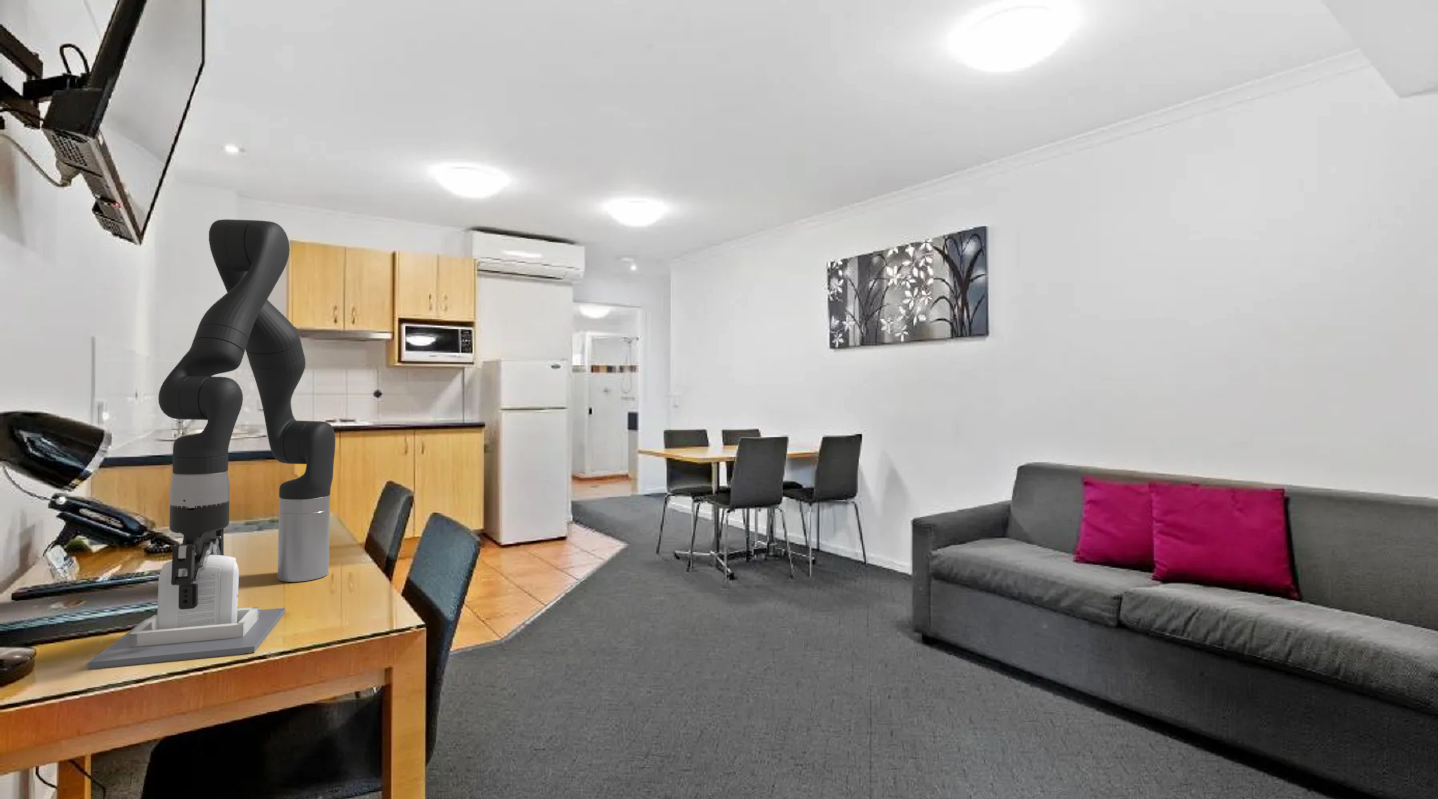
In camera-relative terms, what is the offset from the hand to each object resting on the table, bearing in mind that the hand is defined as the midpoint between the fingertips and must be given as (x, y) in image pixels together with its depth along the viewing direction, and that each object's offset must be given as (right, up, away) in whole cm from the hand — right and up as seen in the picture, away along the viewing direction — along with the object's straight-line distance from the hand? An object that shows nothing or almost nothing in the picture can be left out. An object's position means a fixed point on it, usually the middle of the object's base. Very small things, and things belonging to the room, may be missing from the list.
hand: (198, 599), depth 105 cm
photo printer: (0, -6, 0) cm, 6 cm away
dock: (0, -6, 0) cm, 6 cm away
